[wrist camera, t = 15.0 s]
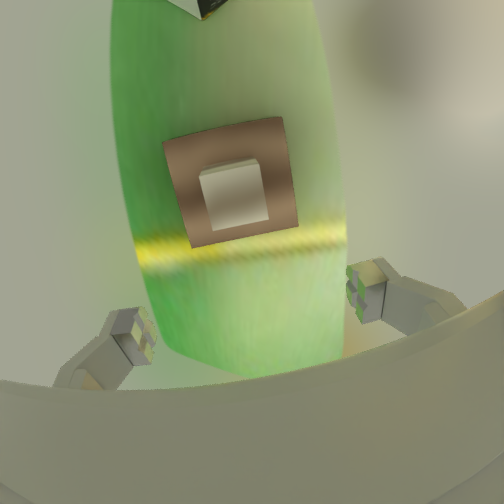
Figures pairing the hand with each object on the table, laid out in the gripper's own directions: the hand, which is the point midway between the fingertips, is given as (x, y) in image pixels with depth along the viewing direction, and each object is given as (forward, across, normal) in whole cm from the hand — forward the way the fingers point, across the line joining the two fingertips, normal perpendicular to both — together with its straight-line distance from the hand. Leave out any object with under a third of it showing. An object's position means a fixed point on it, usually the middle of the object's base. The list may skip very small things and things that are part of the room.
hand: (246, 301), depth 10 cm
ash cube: (+19, 0, 0) cm, 19 cm away
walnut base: (+22, 0, 0) cm, 22 cm away
